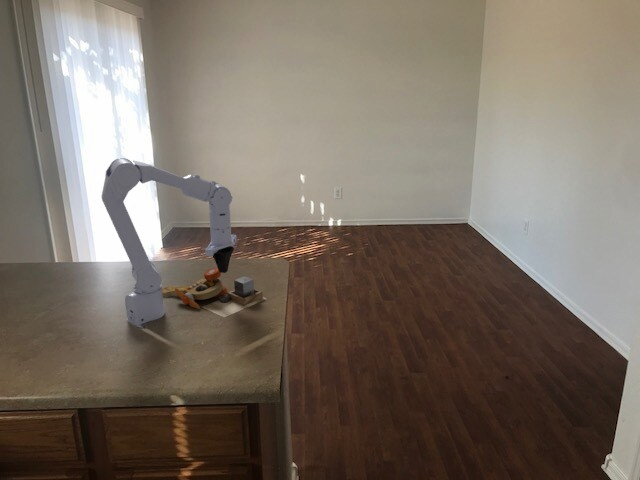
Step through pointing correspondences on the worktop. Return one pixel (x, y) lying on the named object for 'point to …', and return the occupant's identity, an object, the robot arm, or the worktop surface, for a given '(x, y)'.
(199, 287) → the toy helicopter
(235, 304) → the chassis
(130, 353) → the worktop surface
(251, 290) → the grey rectangular block
